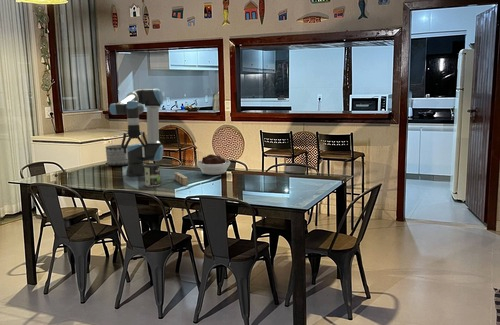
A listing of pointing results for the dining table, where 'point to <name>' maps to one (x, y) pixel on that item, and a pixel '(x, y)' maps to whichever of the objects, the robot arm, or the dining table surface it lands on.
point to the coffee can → (152, 175)
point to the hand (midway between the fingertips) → (135, 157)
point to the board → (181, 178)
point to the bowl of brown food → (213, 165)
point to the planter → (116, 155)
